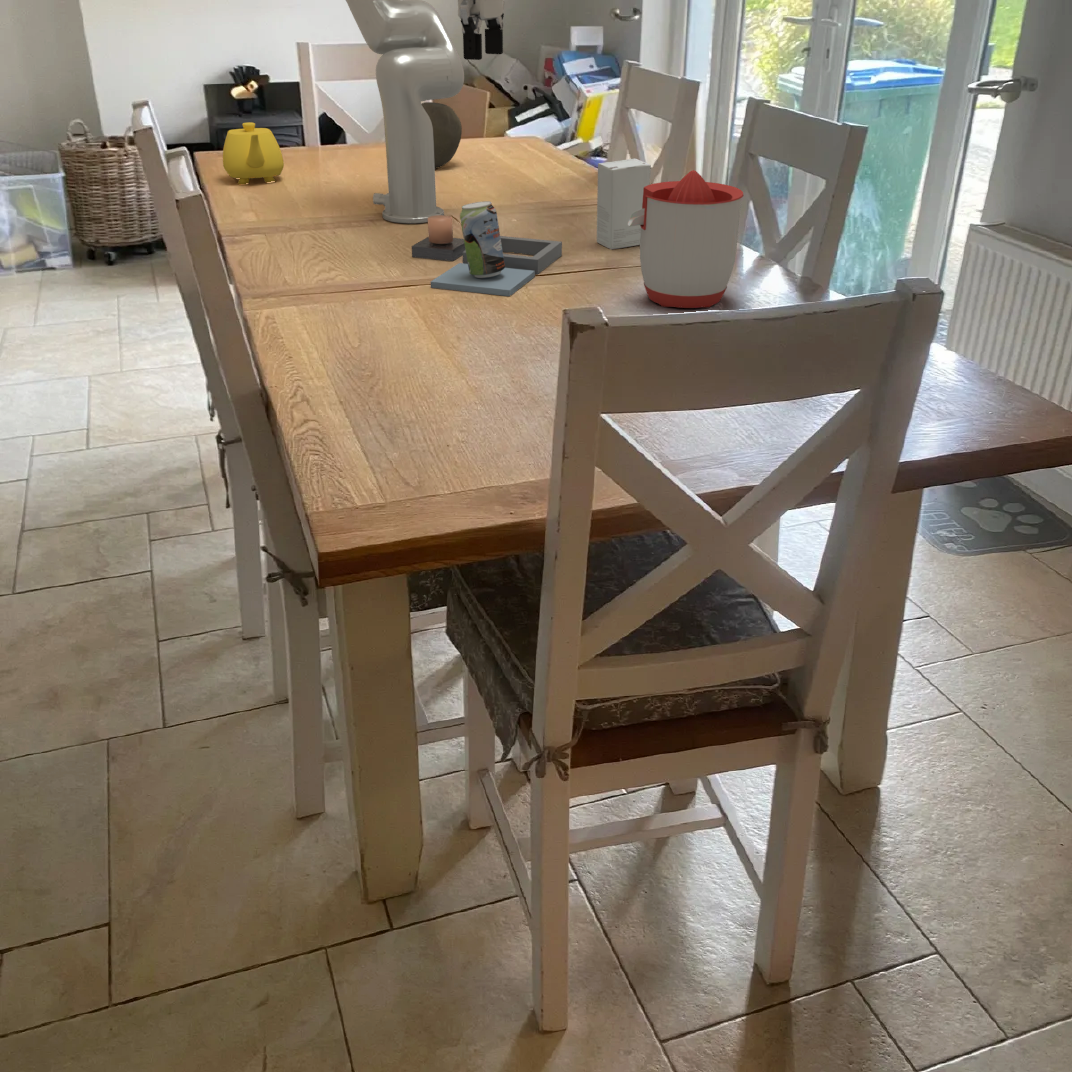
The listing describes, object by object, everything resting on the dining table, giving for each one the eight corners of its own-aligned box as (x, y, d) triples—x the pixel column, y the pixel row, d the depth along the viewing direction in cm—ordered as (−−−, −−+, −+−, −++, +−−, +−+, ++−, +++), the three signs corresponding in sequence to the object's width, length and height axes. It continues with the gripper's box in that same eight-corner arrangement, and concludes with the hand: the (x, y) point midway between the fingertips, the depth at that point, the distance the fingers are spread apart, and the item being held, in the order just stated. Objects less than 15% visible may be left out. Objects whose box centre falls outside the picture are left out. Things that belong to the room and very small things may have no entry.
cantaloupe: (460, 172, 260) (458, 106, 252) (402, 172, 260) (398, 106, 253) (464, 161, 272) (462, 98, 265) (409, 161, 272) (405, 98, 265)
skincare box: (632, 238, 206) (636, 157, 198) (648, 245, 201) (653, 163, 193) (594, 243, 202) (596, 161, 195) (609, 250, 198) (612, 167, 190)
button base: (412, 257, 193) (411, 246, 192) (430, 246, 200) (430, 235, 199) (452, 261, 191) (452, 250, 190) (470, 250, 197) (469, 239, 196)
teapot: (280, 171, 261) (274, 116, 254) (291, 188, 244) (285, 129, 238) (222, 175, 257) (214, 118, 250) (230, 192, 240) (222, 132, 234)
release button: (424, 242, 193) (423, 219, 191) (434, 236, 197) (433, 214, 195) (447, 244, 192) (446, 221, 190) (456, 238, 195) (456, 216, 193)
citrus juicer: (622, 284, 179) (628, 159, 169) (726, 285, 178) (738, 160, 168) (626, 313, 165) (632, 180, 155) (739, 315, 165) (752, 181, 155)
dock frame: (462, 266, 188) (462, 252, 187) (490, 248, 199) (490, 234, 197) (537, 274, 184) (537, 259, 183) (561, 255, 195) (561, 241, 193)
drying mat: (430, 287, 177) (430, 281, 176) (459, 268, 187) (459, 263, 186) (509, 296, 173) (509, 290, 172) (534, 276, 183) (534, 270, 182)
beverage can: (500, 282, 176) (499, 208, 170) (457, 279, 177) (454, 205, 171) (508, 272, 181) (508, 199, 176) (466, 269, 183) (464, 197, 177)
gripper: (480, -57, 186) (482, 51, 194) (439, -56, 172) (443, 60, 180) (520, -57, 184) (521, 52, 192) (482, -55, 169) (485, 62, 178)
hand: (483, 56), depth 186 cm, fingers open, 9 cm apart
